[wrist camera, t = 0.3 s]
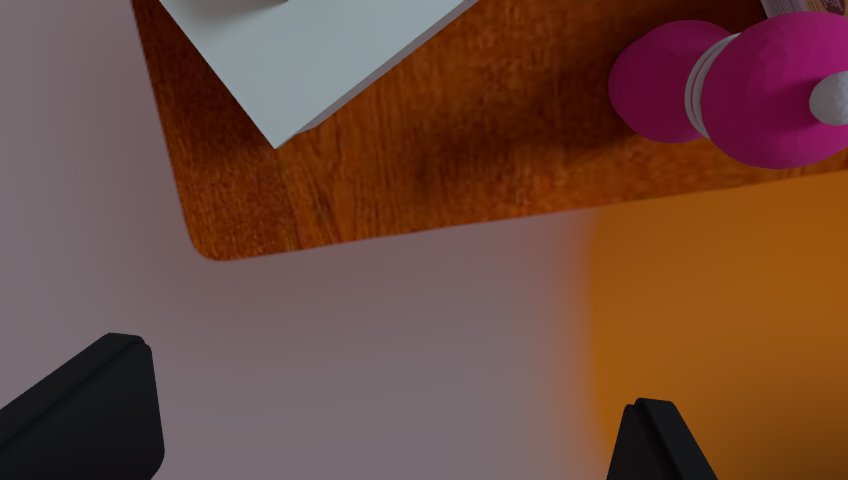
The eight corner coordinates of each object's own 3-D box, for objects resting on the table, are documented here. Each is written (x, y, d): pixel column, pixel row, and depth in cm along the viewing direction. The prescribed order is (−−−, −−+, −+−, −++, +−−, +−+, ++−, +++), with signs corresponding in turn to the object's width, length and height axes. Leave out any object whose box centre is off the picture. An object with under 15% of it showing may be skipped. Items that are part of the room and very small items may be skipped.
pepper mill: (587, 52, 34) (717, 36, 16) (694, 6, 33) (984, -73, 14) (616, 149, 36) (763, 238, 18) (719, 110, 35) (1002, 162, 16)
